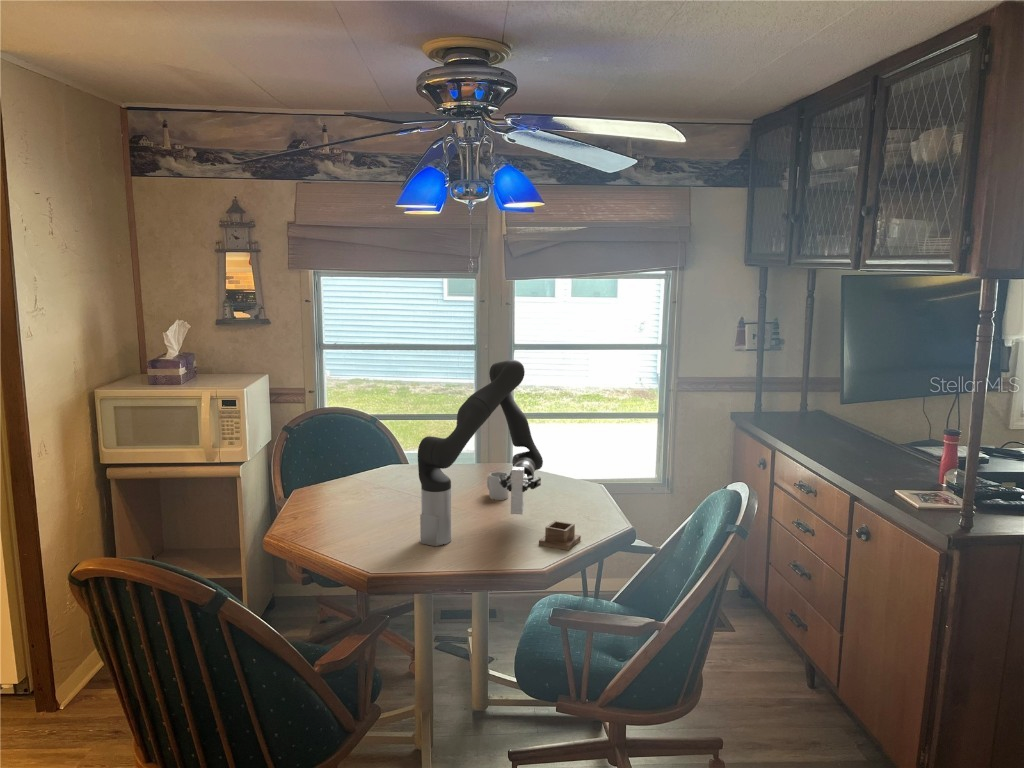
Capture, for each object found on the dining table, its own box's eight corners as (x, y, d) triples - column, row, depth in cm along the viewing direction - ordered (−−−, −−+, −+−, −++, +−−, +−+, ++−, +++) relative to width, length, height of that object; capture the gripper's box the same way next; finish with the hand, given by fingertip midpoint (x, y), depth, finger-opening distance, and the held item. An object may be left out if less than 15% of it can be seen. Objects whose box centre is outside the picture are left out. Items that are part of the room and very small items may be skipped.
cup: (497, 501, 277) (498, 478, 275) (480, 495, 284) (480, 472, 283) (512, 497, 282) (512, 474, 280) (494, 491, 289) (495, 469, 287)
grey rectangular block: (522, 514, 230) (523, 470, 228) (510, 513, 230) (511, 469, 228) (523, 510, 233) (524, 467, 231) (512, 510, 234) (512, 466, 232)
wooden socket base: (568, 550, 229) (568, 533, 228) (538, 544, 234) (539, 528, 233) (580, 540, 238) (580, 523, 237) (551, 534, 243) (551, 518, 242)
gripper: (501, 461, 245) (493, 475, 228) (544, 463, 243) (540, 477, 226) (500, 484, 246) (493, 499, 229) (543, 486, 245) (539, 501, 228)
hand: (516, 488), depth 228 cm, fingers closed on grey rectangular block, 3 cm apart
